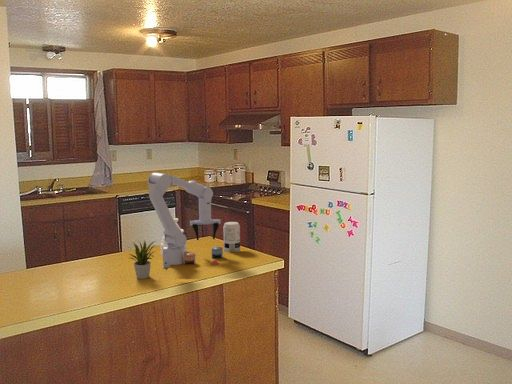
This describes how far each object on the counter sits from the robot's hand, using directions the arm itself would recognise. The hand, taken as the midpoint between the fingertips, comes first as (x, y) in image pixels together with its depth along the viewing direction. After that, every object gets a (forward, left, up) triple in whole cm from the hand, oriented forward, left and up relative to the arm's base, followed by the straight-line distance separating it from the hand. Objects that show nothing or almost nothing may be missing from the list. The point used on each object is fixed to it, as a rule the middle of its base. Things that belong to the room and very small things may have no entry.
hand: (205, 239), depth 235 cm
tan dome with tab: (-6, -14, -9) cm, 18 cm away
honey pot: (-17, +8, -10) cm, 21 cm away
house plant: (-22, -28, -10) cm, 37 cm away
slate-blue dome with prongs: (+6, -4, -9) cm, 12 cm away
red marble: (+6, -14, -8) cm, 17 cm away
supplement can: (+12, +10, -10) cm, 18 cm away
